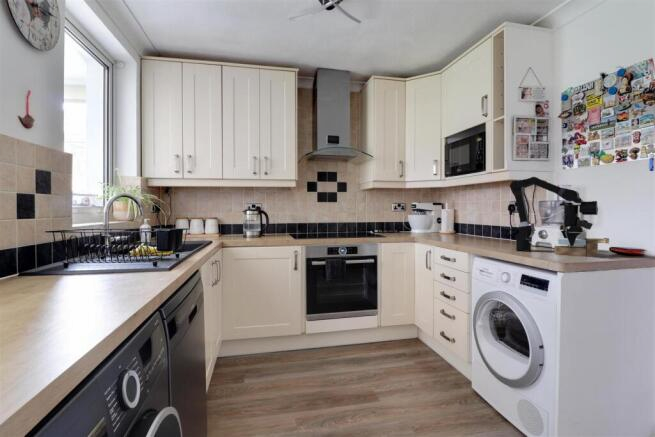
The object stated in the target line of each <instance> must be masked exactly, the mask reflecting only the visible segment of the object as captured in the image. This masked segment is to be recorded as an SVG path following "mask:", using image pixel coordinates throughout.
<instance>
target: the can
mask: <svg viewBox="0 0 655 437" xmlns="http://www.w3.org/2000/svg"><path fill="white" fill-rule="evenodd" d="M585 230H586V229H583V232H580V233H581V234H579V235H578V236H577V237H576V239H584V238H587V231H585ZM568 246H570V245H568ZM573 247H584V245H573Z"/></svg>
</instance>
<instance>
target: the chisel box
mask: <svg viewBox="0 0 655 437" xmlns="http://www.w3.org/2000/svg"><path fill="white" fill-rule="evenodd" d="M587 238H588V237H586V238H584V240H586V245H584V247H573V246H569V245H568V246H567V245H554V255H556V256H557V255H559V256H571V257H593V258H597V257H598V256H599V255H598V254H599V253H598V251H599V247H598V246H599V243H598V239H599V238H597V239H587Z"/></svg>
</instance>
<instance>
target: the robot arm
mask: <svg viewBox="0 0 655 437" xmlns="http://www.w3.org/2000/svg"><path fill="white" fill-rule="evenodd" d="M532 186H537V187H539V188H542V189H544V190H547V191H549V192H551V193H554V194H556V195H557V196H559V197H560V198H562V199H563V201H562V202H561V203H559V206H561V207H563V216H562V219H563V224H561V225H559V230H560V232H561V235H562V238H567V239H568V241H569V244H570V246H573V245H574V243H575V240H576V237H577V236H578V235H579V234H581V233H580V232H583V230H591V229H592V227H593V225H594V224H593V223H592V222H588V220H586V219H582V220H581V217H579V213H580V214H581V215H582V216H585V215H586V216H597V215H598V214H599V207H598V201H597V200H593V201H584V199H582V198H581V197H580V193H579V192H578V191H576V190H574V189H569V188H566V187H561V186H558V185H556V184H554V183H551V182H549V181H546V180H543V179H540V178H539V177H537V176H531V177H529V178H524V179H521V180H513V181H511V183H509V188H510V191H511V193H512V195H513V196H514V198H515V203H516V208H517V214H518V217H519V226H518V227H519V228H518V231H519V232H518V233H516V234H515V235H514V238H515V251H517V252H530V251H531V250H532V247H531V246H532V243H531V242H530V240H531V237H532V236H534V235H535V231H536V229H535V223H531V221H530V218H529V213H528V209H527V204H526V200H525V189H526V188H529V187H532ZM574 203H575V204H574ZM583 228H584V229H583Z"/></svg>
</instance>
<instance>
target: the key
mask: <svg viewBox="0 0 655 437" xmlns="http://www.w3.org/2000/svg"><path fill="white" fill-rule="evenodd" d="M586 238H587V239H598V244H610V238H609V237H603V238H594V237H593V238H589V237H586Z"/></svg>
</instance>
